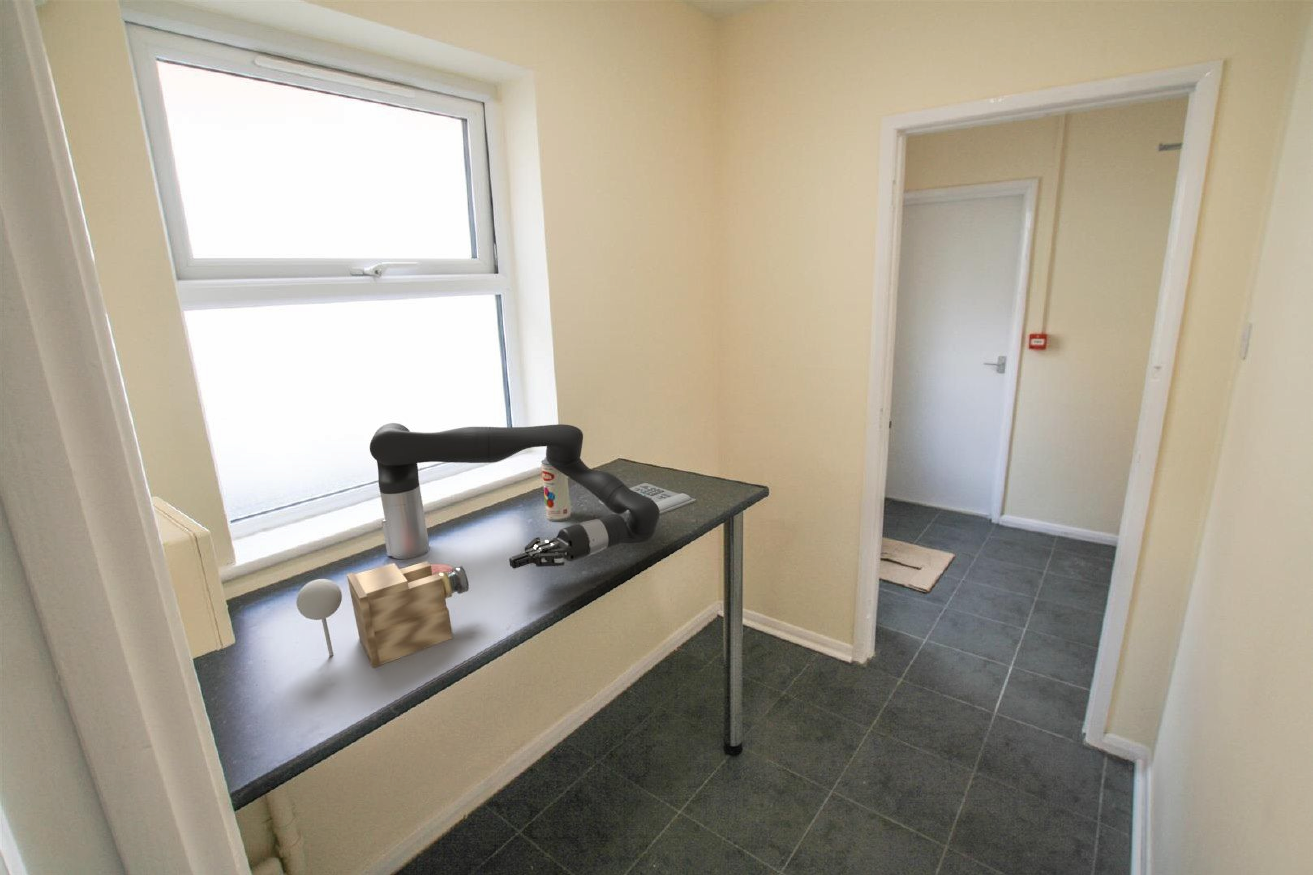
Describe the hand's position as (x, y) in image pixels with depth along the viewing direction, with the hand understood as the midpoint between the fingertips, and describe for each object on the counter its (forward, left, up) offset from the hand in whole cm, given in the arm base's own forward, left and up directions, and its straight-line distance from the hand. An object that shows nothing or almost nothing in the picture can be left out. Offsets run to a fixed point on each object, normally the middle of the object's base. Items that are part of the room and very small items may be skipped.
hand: (511, 563), depth 126 cm
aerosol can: (-5, +46, -8) cm, 47 cm away
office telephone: (+18, +59, -9) cm, 62 cm away
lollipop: (-27, -22, -8) cm, 36 cm away
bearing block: (-16, -16, -8) cm, 24 cm away
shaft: (-13, -13, -3) cm, 19 cm away
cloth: (-29, +5, -9) cm, 31 cm away
